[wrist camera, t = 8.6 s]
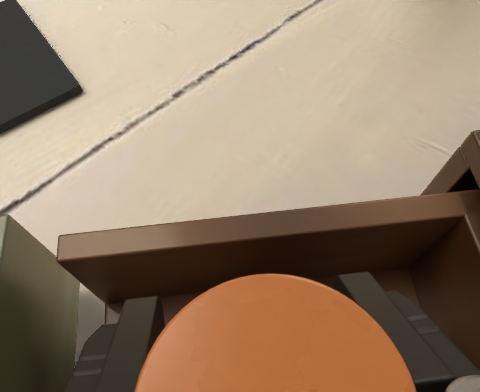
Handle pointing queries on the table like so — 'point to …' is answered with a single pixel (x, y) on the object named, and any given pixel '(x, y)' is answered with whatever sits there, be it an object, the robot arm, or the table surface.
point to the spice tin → (273, 342)
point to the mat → (28, 69)
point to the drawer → (234, 270)
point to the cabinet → (459, 169)
